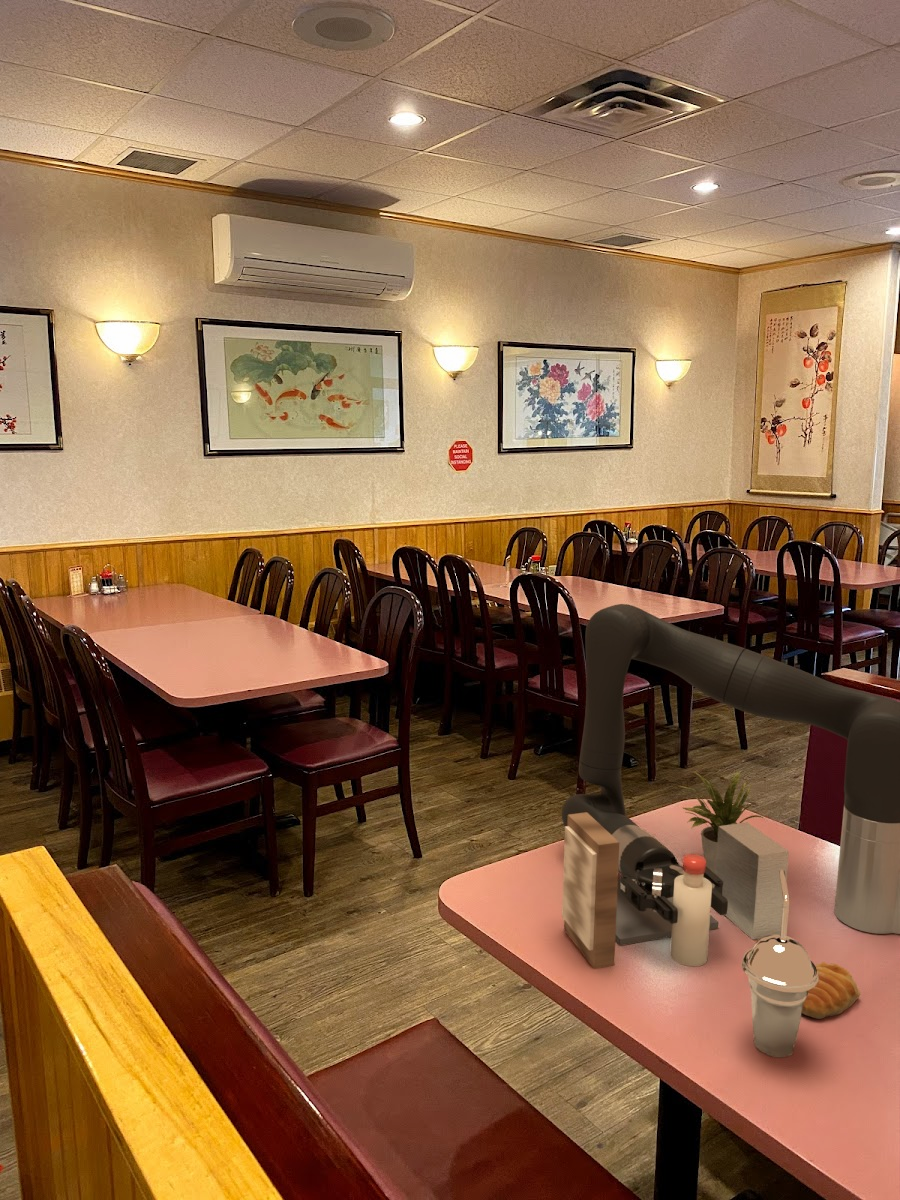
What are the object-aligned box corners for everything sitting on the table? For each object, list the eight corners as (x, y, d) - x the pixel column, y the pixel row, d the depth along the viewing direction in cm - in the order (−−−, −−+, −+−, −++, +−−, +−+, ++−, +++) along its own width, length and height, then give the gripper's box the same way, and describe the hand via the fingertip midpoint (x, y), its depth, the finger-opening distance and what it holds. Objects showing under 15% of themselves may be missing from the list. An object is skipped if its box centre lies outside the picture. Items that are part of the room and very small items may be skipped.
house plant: (685, 840, 162) (690, 753, 159) (767, 856, 157) (774, 766, 153) (667, 875, 150) (672, 781, 147) (755, 894, 144) (762, 797, 141)
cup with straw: (724, 1046, 109) (735, 891, 105) (755, 1010, 115) (766, 863, 112) (795, 1080, 103) (810, 917, 99) (823, 1040, 110) (837, 886, 106)
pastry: (829, 1032, 112) (832, 1004, 111) (777, 1007, 116) (779, 980, 116) (862, 1000, 118) (864, 973, 117) (811, 977, 123) (813, 951, 122)
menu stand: (560, 930, 133) (563, 815, 130) (582, 927, 134) (586, 812, 131) (590, 969, 124) (594, 845, 121) (614, 964, 125) (619, 842, 122)
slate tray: (572, 891, 145) (572, 885, 144) (662, 877, 149) (662, 871, 149) (619, 945, 130) (620, 939, 129) (718, 928, 134) (718, 922, 134)
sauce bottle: (710, 951, 128) (716, 855, 126) (703, 970, 124) (709, 871, 121) (674, 942, 130) (679, 848, 128) (666, 960, 126) (671, 863, 123)
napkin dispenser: (713, 905, 141) (718, 826, 138) (741, 900, 142) (747, 822, 140) (752, 939, 131) (758, 855, 129) (782, 934, 133) (788, 850, 130)
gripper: (598, 841, 136) (654, 895, 121) (683, 829, 141) (748, 880, 125) (597, 887, 138) (651, 946, 122) (681, 874, 142) (744, 930, 126)
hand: (700, 912), depth 124 cm, fingers open, 7 cm apart
